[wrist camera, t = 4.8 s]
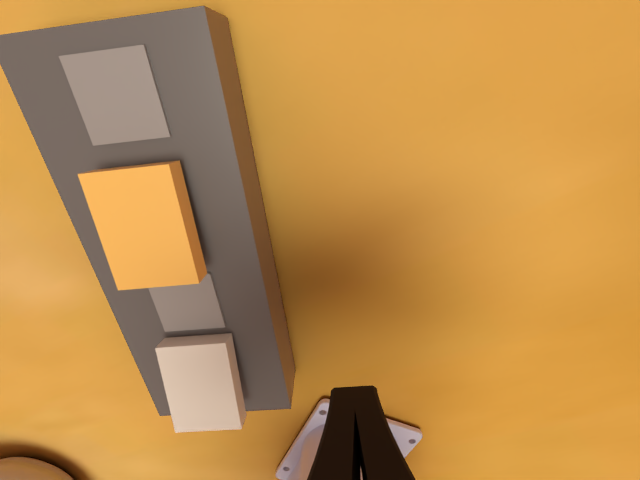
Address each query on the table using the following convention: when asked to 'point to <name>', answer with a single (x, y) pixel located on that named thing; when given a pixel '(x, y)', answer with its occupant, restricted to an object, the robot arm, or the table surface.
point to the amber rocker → (145, 224)
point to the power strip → (155, 147)
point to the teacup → (30, 470)
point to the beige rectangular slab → (202, 382)
